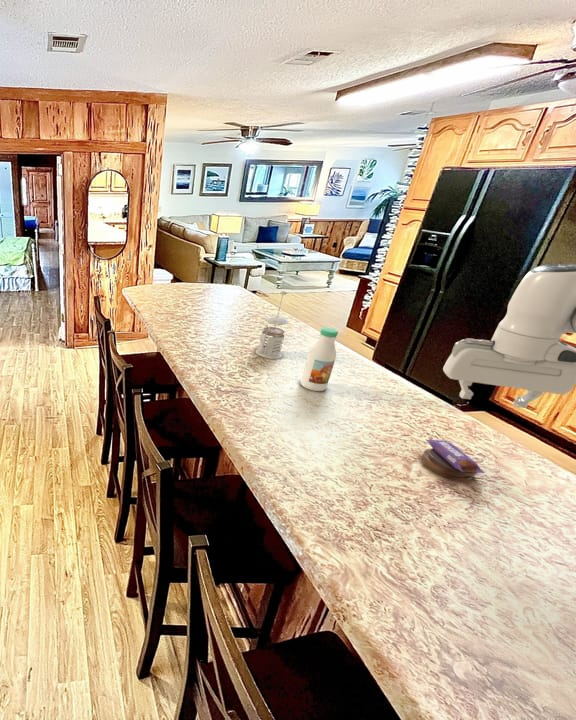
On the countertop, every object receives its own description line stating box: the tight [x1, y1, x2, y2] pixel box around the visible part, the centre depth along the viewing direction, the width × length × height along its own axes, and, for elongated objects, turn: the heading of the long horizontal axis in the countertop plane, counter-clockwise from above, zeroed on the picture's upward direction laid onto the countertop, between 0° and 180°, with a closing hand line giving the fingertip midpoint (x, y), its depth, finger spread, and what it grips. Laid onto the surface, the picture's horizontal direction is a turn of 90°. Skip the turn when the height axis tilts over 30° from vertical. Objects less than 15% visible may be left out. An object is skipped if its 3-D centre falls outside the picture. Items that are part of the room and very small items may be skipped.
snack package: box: [425, 439, 485, 474], centre depth 91 cm, size 12×2×5 cm
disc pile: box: [422, 448, 478, 483], centre depth 92 cm, size 10×10×3 cm
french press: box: [255, 290, 289, 360], centre depth 145 cm, size 10×12×25 cm
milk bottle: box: [300, 327, 339, 392], centre depth 124 cm, size 8×8×20 cm
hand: (491, 401), depth 85 cm, fingers open, 8 cm apart
